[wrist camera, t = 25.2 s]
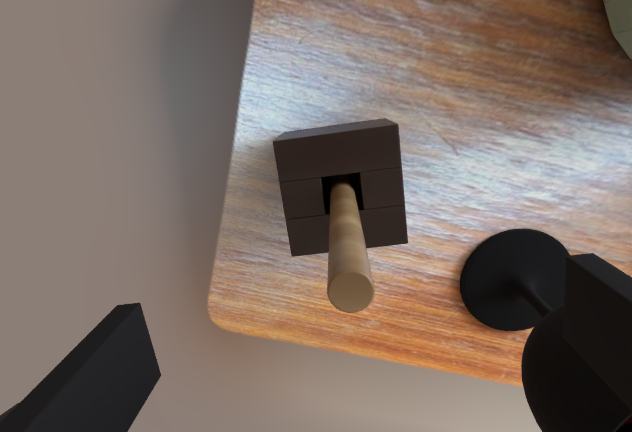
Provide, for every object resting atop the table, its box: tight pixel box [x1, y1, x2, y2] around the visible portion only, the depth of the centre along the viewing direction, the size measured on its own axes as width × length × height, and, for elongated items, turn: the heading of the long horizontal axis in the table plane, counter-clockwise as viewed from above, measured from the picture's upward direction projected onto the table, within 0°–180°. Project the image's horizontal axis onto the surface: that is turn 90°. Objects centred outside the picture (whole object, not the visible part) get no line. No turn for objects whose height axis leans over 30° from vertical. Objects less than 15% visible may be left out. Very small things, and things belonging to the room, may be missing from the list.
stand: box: [273, 118, 408, 256], centre depth 33 cm, size 9×9×7 cm
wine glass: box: [460, 229, 632, 432], centre depth 29 cm, size 10×10×20 cm
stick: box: [327, 174, 375, 313], centre depth 26 cm, size 2×2×22 cm
